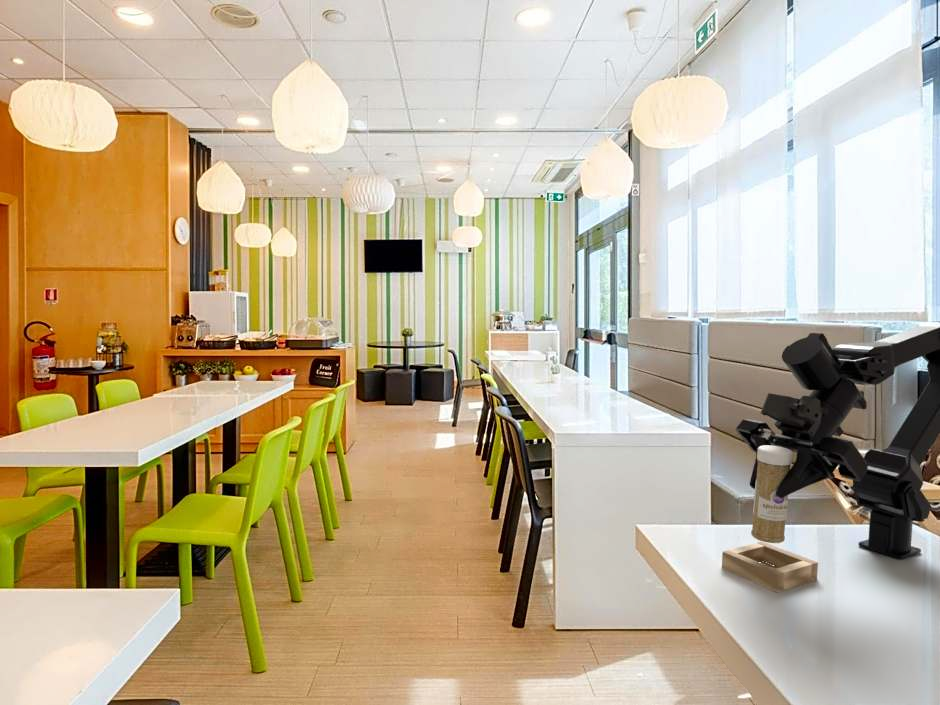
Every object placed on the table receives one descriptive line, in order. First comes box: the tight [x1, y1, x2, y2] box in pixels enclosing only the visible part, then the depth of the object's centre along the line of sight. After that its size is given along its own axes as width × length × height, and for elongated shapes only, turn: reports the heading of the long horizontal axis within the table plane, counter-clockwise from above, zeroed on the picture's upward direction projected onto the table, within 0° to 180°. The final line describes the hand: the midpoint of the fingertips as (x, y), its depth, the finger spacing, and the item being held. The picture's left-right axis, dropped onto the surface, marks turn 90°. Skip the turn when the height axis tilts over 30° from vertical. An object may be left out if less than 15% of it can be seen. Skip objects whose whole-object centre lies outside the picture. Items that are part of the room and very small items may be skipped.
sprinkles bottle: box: [750, 445, 794, 544], centre depth 91 cm, size 5×5×13 cm
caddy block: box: [721, 541, 819, 593], centre depth 92 cm, size 9×9×2 cm
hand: (764, 491), depth 91 cm, fingers closed on sprinkles bottle, 4 cm apart
